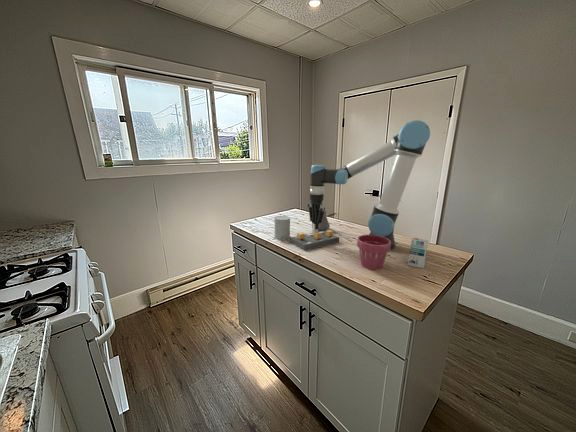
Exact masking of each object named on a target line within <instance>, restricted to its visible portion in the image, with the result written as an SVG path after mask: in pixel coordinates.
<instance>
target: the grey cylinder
mask: <svg viewBox="0 0 576 432" xmlns="http://www.w3.org/2000/svg"><path fill="white" fill-rule="evenodd" d="M273 218H274V239H275V240H278V241H279V240H280V241H285V240H290V237H291V217H290V216H286V215H276V216H274V217H273Z"/></svg>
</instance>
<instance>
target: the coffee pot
mask: <svg viewBox="0 0 576 432" xmlns="http://www.w3.org/2000/svg"><path fill="white" fill-rule="evenodd" d="M327 212H328V211H326V210H325V211H324V213H323V218H322V222H321V223H319V226H318V232H320V231H327V230H330V223H329V221H328V217H332V216H336V217H338V215H339V214H337V213H336V212H334V213H330V214H328V215H326V214H327Z"/></svg>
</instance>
